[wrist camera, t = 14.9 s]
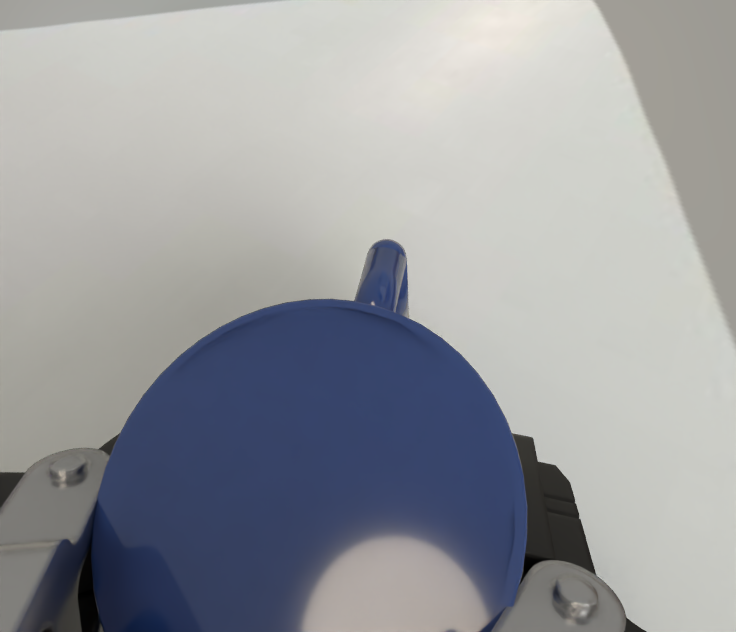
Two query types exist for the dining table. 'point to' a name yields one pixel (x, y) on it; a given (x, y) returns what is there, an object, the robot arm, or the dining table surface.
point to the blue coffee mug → (314, 479)
